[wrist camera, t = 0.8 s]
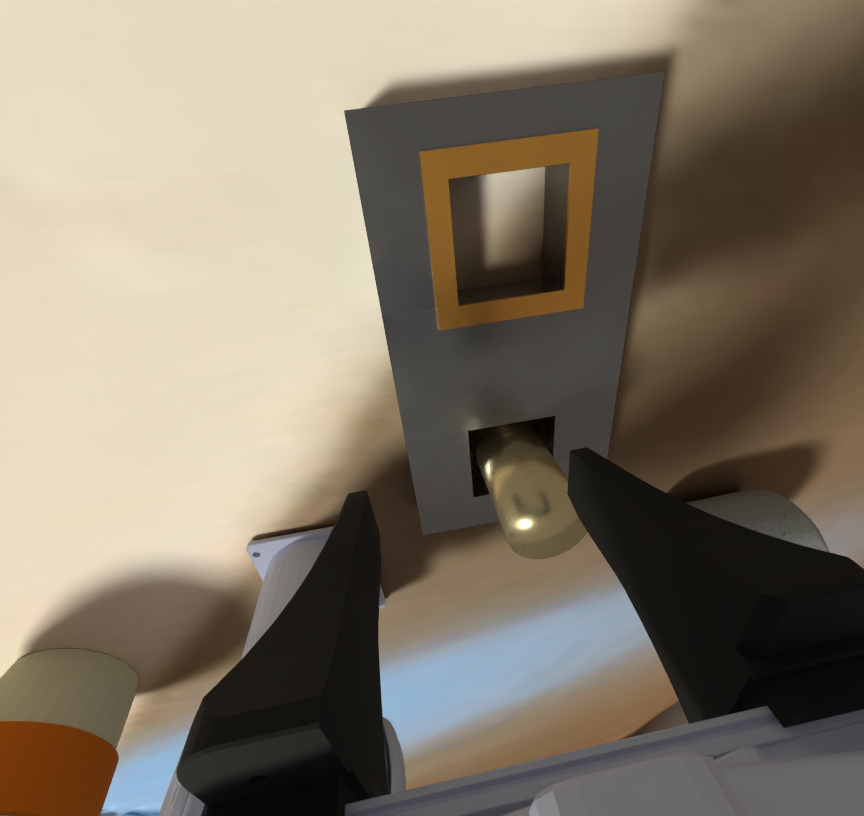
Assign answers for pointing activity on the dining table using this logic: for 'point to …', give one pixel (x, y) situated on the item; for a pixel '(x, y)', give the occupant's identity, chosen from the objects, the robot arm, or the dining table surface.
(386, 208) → the hole plate
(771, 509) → the ceramic mug
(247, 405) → the dining table surface
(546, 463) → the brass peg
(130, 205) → the dining table surface
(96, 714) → the reusable coffee cup
